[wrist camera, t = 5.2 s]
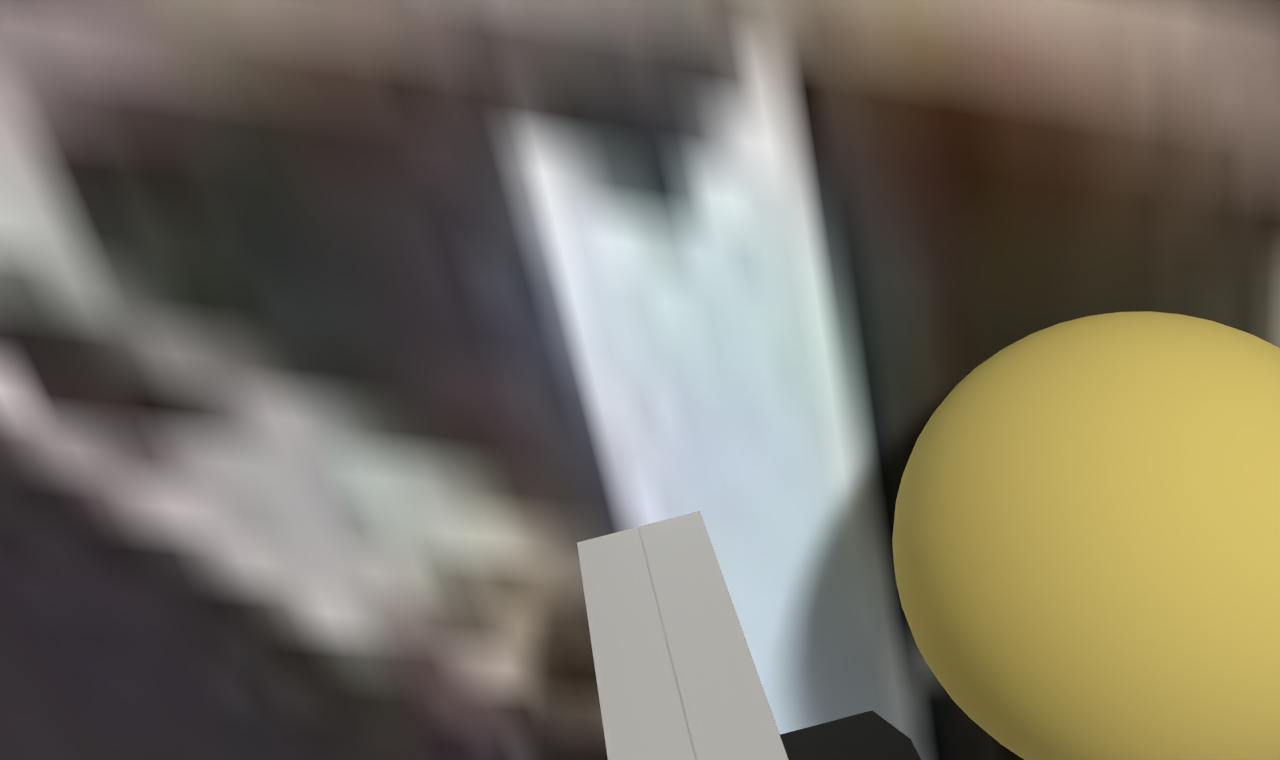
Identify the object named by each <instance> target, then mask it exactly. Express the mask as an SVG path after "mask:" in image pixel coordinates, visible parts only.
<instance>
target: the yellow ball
mask: <svg viewBox="0 0 1280 760" xmlns="http://www.w3.org/2000/svg"><path fill="white" fill-rule="evenodd" d="M892 544H893V559H894V569H895V577H896V584H897V588H898V592H899V597H900V601H901V605H902V609H903V611H904V614H905V616H906V619H907V621H908V624H909V627H910V629H911V632H912V634H913V637H914V639H915V642H916V645H917V647H918V648H919V650H920V652H921V654H922V656H923V657H924V659H925V661H926V663H927V664H928V666H929V668H930V669H931V671H932V672H933V674H934V675H935V677H936V678H937V679H938V681H939V682H940V684H941V685H942V686H943V688H944V689H945V690H946V692H947V693H948V694H949V696H950V697H951V698H952V700H953V701H954V702H955V703H956V704H957V705H958V706H959V707H960V708H961V709H962V710H963V711H964V712H965V713H966V714H967V715H968V717H969V718H970V719H971V720H973V721H974V722H975V723H976V724H977V725H978V726H980V727H981V728H982V729H983V730H984V731H986V732H987V733H988V734H989V735H990V736H992V737H993V738H994V739H995V740H996V741H998V742H999V743H1000V744H1001V745H1003V746H1004V747H1006V748H1007V749H1009V750H1010V751H1012V752H1013V753H1015V754H1016V755H1018V756H1019V757H1021V758H1022V759H1024V760H1280V348H1279V347H1277V346H1275V345H1273V344H1271V343H1269V342H1267V341H1265V340H1262V339H1260V338H1258V337H1256V336H1254V335H1252V334H1249V333H1247V332H1244V331H1241V330H1238V329H1235V328H1232V327H1229V326H1226V325H1223V324H1220V323H1217V322H1214V321H1211V320H1206V319H1201V318H1196V317H1192V316H1187V315H1182V314H1172V313H1161V312H1151V311H1147V312H1115V313H1108V314H1100V315H1093V316H1087V317H1083V318H1079V319H1075V320H1071V321H1067V322H1063V323H1059V324H1056V325H1054V326H1051V327H1048V328H1046V329H1043V330H1040V331H1038V332H1035V333H1032V334H1030V335H1028V336H1026V337H1025V338H1023V339H1021V340H1019V341H1017V342H1015V343H1013V344H1011V345H1009V346H1007V347H1006V348H1004V349H1002V350H1001V351H999V352H998V353H996V354H995V355H993V356H992V357H990V358H989V359H988V360H986V361H985V362H983V363H982V364H980V365H979V366H977V367H976V368H975V369H974V370H973V371H972V372H971V373H969V374H968V375H967V376H966V377H965V378H964V379H963V380H962V381H961V382H960V383H958V384H957V385H956V386H955V388H954V389H953V390H952V391H951V392H950V393H949V395H948V396H947V397H946V398H945V399H944V401H943V402H942V403H941V404H940V405H939V407H938V408H937V409H936V411H935V412H934V413H933V415H932V416H931V417H930V419H929V421H928V422H927V424H926V426H925V427H924V429H923V430H922V432H921V434H920V435H919V437H918V439H917V441H916V443H915V446H914V448H913V450H912V453H911V455H910V457H909V460H908V462H907V465H906V467H905V470H904V473H903V475H902V479H901V483H900V487H899V491H898V495H897V499H896V506H895V516H894V527H893V539H892Z"/></svg>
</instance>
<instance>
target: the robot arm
mask: <svg viewBox="0 0 1280 760" xmlns="http://www.w3.org/2000/svg"><path fill="white" fill-rule="evenodd" d="M577 546H578V553H579V560H580V567H581V574H582V581H583V588H584V595H585V602H586V609H587V616H588V623H589V630H590V637H591V644H592V651H593V658H594V666H595V673H596V680H597V687H598V694H599V701H600V708H601V715H602V722H603V729H604V736H605V743H606V750H607V757H608V760H921V759H920V757H919V755H918V753H917V751H916V749H915V747H914V745H913V743H912V741H911V739H909V738H908V737H907V736H905V735H904V734H903V733H901V732H900V731H899V730H897V729H896V728H895V727H893V726H892V725H891V724H889V723H888V722H887V721H885V720H884V719H883V718H881V717H880V716H879V715H877V714H876V713H875V712H873V711H869V712H865V713H861V714H857V715H854V716H850V717H846V718H842V719H838V720H835V721H831V722H827V723H823V724H819V725H816V726H812V727H808V728H804V729H801V730H797V731H793V732H789V733H785V734H782V735H780V734H779V732H778V729H777V726H776V723H775V720H774V718H773V715H772V712H771V709H770V706H769V704H768V701H767V698H766V695H765V692H764V690H763V687H762V684H761V681H760V678H759V676H758V673H757V670H756V667H755V665H754V662H753V659H752V656H751V653H750V651H749V648H748V645H747V642H746V639H745V637H744V634H743V631H742V628H741V625H740V623H739V620H738V617H737V614H736V611H735V609H734V606H733V603H732V600H731V597H730V595H729V592H728V589H727V586H726V583H725V581H724V578H723V575H722V572H721V569H720V567H719V564H718V561H717V558H716V556H715V553H714V550H713V547H712V544H711V542H710V539H709V536H708V533H707V530H706V528H705V525H704V522H703V519H702V516H701V514H700V511H698V512H694V513H691V514H687V515H683V516H679V517H675V518H671V519H667V520H663V521H660V522H656V523H652V524H648V525H644V526H640V527H636V528H632V529H629V530H625V531H621V532H617V533H613V534H609V535H605V536H601V537H598V538H594V539H590V540H586V541H582V542H578V543H577Z"/></svg>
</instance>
